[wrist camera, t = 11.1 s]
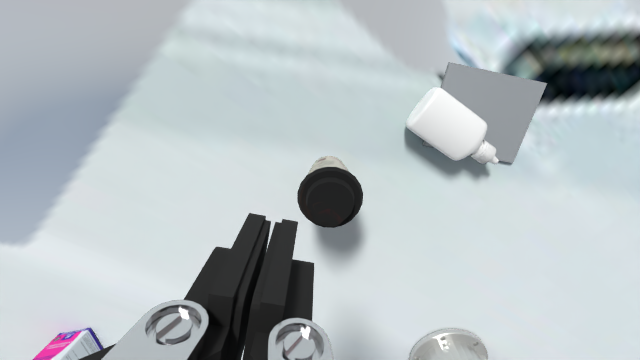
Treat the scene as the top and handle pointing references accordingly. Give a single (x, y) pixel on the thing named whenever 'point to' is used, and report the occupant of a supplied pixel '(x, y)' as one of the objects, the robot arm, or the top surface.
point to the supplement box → (71, 346)
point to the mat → (495, 104)
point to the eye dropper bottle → (451, 127)
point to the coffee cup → (330, 193)
